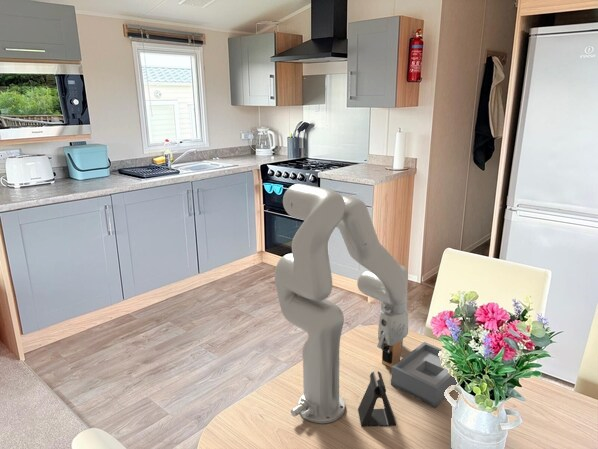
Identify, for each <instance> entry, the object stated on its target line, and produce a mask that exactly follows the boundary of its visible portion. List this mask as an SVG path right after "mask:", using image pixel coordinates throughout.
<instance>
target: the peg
mask: <svg viewBox="0 0 598 449" xmlns="http://www.w3.org/2000/svg"><path fill="white" fill-rule="evenodd" d="M385 346H387V347H388V345H387V344H386V345H385ZM391 352H392V363H391V364H389V363H387V362H385V361H383V360H382V359H381V363H382V365H385V366H388V367H389V368H391V369H392V366H393V365H395V364H396V363H397V362H399V361H400V360H401V356H402V355H401V354H402V353H401V352H402V346H401V341H399V342H398V343H396V344H395V345H393V346H392V348H391Z"/></svg>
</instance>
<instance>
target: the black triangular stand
mask: <svg viewBox="0 0 598 449" xmlns="http://www.w3.org/2000/svg"><path fill="white" fill-rule="evenodd" d="M369 374H370V375H369V378H370V380H369V383H368V385H367V388H366V390H365V392H364V394H363V397H362V399H361V402H360V404H359V405H358V408H357V412H358V418H359V422H360V426H361V428H362V427H365V428H366V427H368V428H371V427H396V426H397V421H396V418H395V416H394V415H395V414H394V412H393V409H392V407H391V403H390V401H389V399H388V395H387V393H386V392H387V389H386V385H385V382H384V378H383V374H382V373H381V372H380V371H377V376H378V380H377V376H376V373H375V371H372V372H371V373H369ZM378 399H382V402H383V406H384V408H375V405H376V402H377V401H378Z"/></svg>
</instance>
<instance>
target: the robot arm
mask: <svg viewBox="0 0 598 449" xmlns="http://www.w3.org/2000/svg"><path fill="white" fill-rule="evenodd" d="M282 198H283V199H282V205H283V208H284V210H285V212H286V213H287V214H288V215H289V216H290V217H293V218H295V219H299V220H303V221H302V224H301V225H300V226H299V228H298V229H297V230H296V233H295V234H294V236H293V238H292V240H291V252H290V253H289V252H288V253H287V254H284V255H283V256H282V257H281V258H280V259H279V260H278V261H277V264H276V266H275V270H274V282H275V287H276V291H277V292H276V293H277V297H278V298H277V299H278V303H279V307H280V310H281V313H282V315H283V318H284V319H286V321H288V322H289V323H291V324H292V325H294V326H295V327H297V328H300V329H301V330H302V331H303V332H305V333H306V334H307V335H308V336H307V340H305V342H304V344H303V346H302V369H303V370H302V375H303V376H302V379H303V394H302V395H301V396H300V397H299V399H298V403H297V406H295V407H293V408H292V409H291V410H290V413H291V416H292V417H294V418H295V417H297V416H298V415H301V416H302V418H303V419H306V420H307V421H309V422H311V423H316V424H328V423H332V422H335V421H337V420H339V419H340V418H341V417H342V416H343V415H344V413H345V411H346V402H345V400H344V398H343V397H342V395H340V348H341V346H340V344H341V335H342V332H343V327H344V321H345V319H344V313H343V311H342V309H341V308H340V307H339V306H338V304H336V303H334V302H332V301H331V300H330V299H327V298H328V297H330V296H331V293H332V291H333V277H332V270H331V263H330V256H329V255H330V254H329V248H328V247H329V241H330V237H331V236H332V233H333V232H334V230H335V229H336V228H337V229H338V230H339V232H340V234H341V238H342V239H343V242H344V244H345V247H346V249H347V251H348V254H349V255H350V257H351V258H352V259H353V260H354V261H355V262H356V263H358V264H359V265H361V267H364V269H366V271H364V272H362V273H361V274H360V275H359V276H358V279H357V283H356V284H357V289H358V290H359V292H360V293H362V294H364V295H365V296H367V297H370V298H372V299H375V300H378V301H380V315H379V320H378V329H377V330H378V331H377V334H378V335H377V338H378V343H377V346H376V347H377V348H379V349H381V350H382V352H381V353H382V355H381V357H382V358H381V361H382V360H383V361H385V362H387V363H389V364H391V363H392V352H391V348H392V346H393V345H395V344H396V343H398V342H399V341H401V344H402V339H403V340H404V339H406V337H407V336H408V333H409V313H408V308H407V307H408V306H407V305H408V304H407V303H408V286H409V270H408V269H407V267H405V266H404V265H402V264H400V263H399V262H398V261H397V260H396V258H394V256H393V255H392V254H391V253H390V252H389V251H388V250H387V249H386V248H385V246H383V245H382V244H381V242H380V240H379V238H378V235H377V233H376V230H375V227H374V224H373V221H372V217H371V215H370V211H369V210H368V207H367V205H366V203H365V202H364V201H363V200H362V199H359V198H358V197H354V196H349V195H344V194H340V193H339V192H337V191H335V190H332V189H328V188H324V187H319V186H314V185H309V184H308V185H307V184H303V183H295V184H293V185H291V186H289V187H288V188H287V190H285V192H284V194H283V197H282ZM386 344H387V345H388V347H387V346H385V345H386Z"/></svg>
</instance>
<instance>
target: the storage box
mask: <svg viewBox="0 0 598 449" xmlns="http://www.w3.org/2000/svg"><path fill="white" fill-rule="evenodd" d="M441 350H442V348H440V347H437V346H436V345H432V344H431V343H428V342H426V341H423V342H422V343H421V344H420V345H418V346H417V347H416V348H415V349H413V350H412V351H411V352H409V353H408V354H406V355H405V356H404V357H402V358H400V361H399V362H397V363H396V364H395V365H393V366H392V368H391V377H390V378H391V379H390V385H391V386H393V387H395V388H397V389H399V390H401V391H402V392H405V393H406V394H408V395H410V396H412V397H413V398H416V399H418V400H420V401H422V402H424V403H426V404H428V405H429V406H431V407H433V408H437V407H438V406H439V405H440V404H441V403H442V402H443V401H444V400H445V399H446V398H445V396H444V392H445V390H446V389H447V388H448V387H449V386H451V385H456V384H457V382H456V380H455V378H454V377H452V376H451V375H450V374H449V373H448V370H447V369H445V368H443V367H442V366H441V363H440V358H439V356H438V353H439V351H441Z"/></svg>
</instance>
